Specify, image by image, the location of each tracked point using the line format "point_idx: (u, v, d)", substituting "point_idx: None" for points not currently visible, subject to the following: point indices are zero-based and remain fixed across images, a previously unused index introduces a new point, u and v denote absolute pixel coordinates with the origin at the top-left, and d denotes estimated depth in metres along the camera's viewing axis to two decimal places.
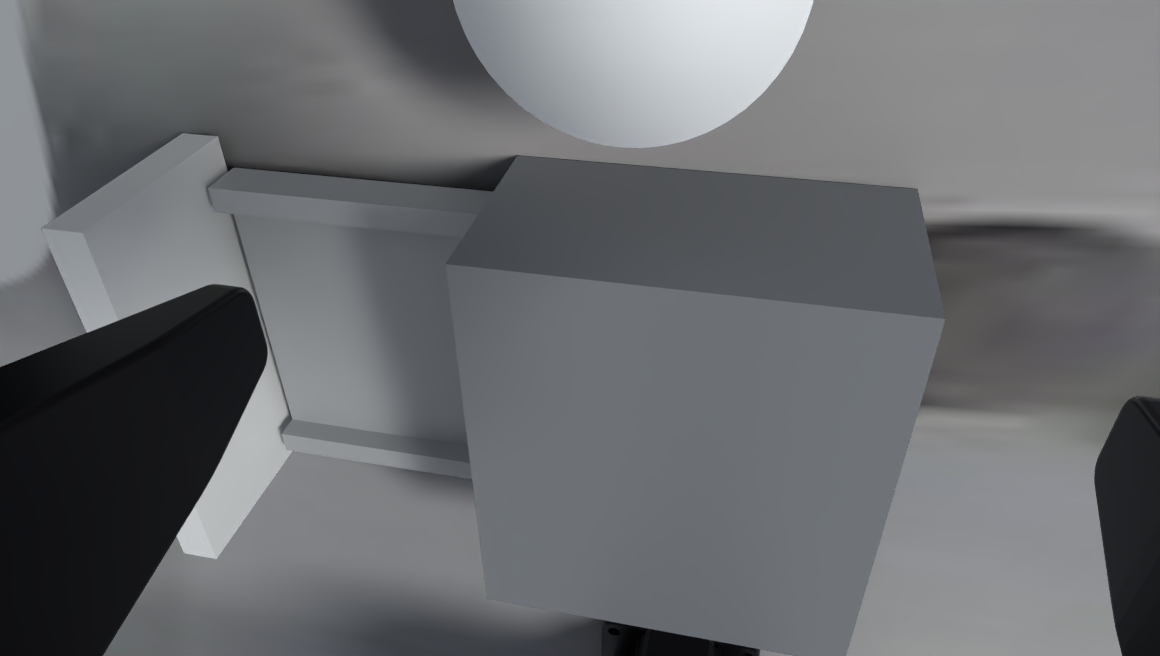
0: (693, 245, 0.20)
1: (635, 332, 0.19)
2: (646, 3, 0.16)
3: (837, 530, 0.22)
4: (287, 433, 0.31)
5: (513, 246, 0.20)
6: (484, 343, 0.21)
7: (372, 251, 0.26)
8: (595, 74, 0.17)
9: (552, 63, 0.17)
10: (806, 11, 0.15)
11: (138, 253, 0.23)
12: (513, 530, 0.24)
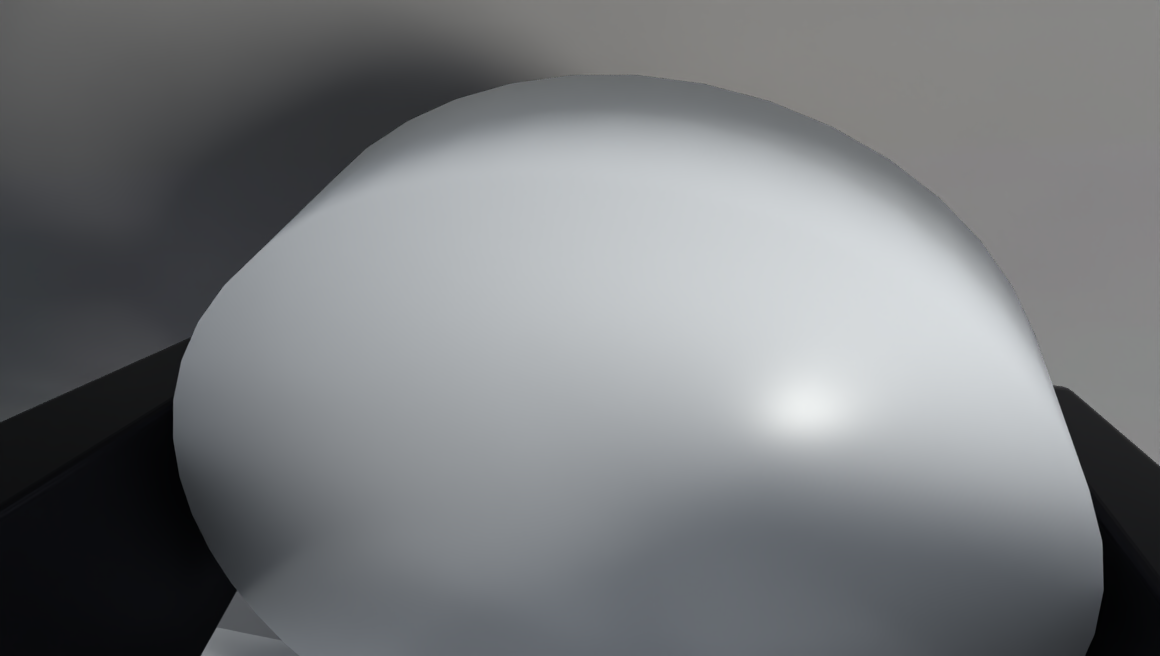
0: None
1: None
2: (644, 635, 0.07)
3: None
4: None
5: None
6: None
7: None
8: None
9: None
10: None
11: None
12: None
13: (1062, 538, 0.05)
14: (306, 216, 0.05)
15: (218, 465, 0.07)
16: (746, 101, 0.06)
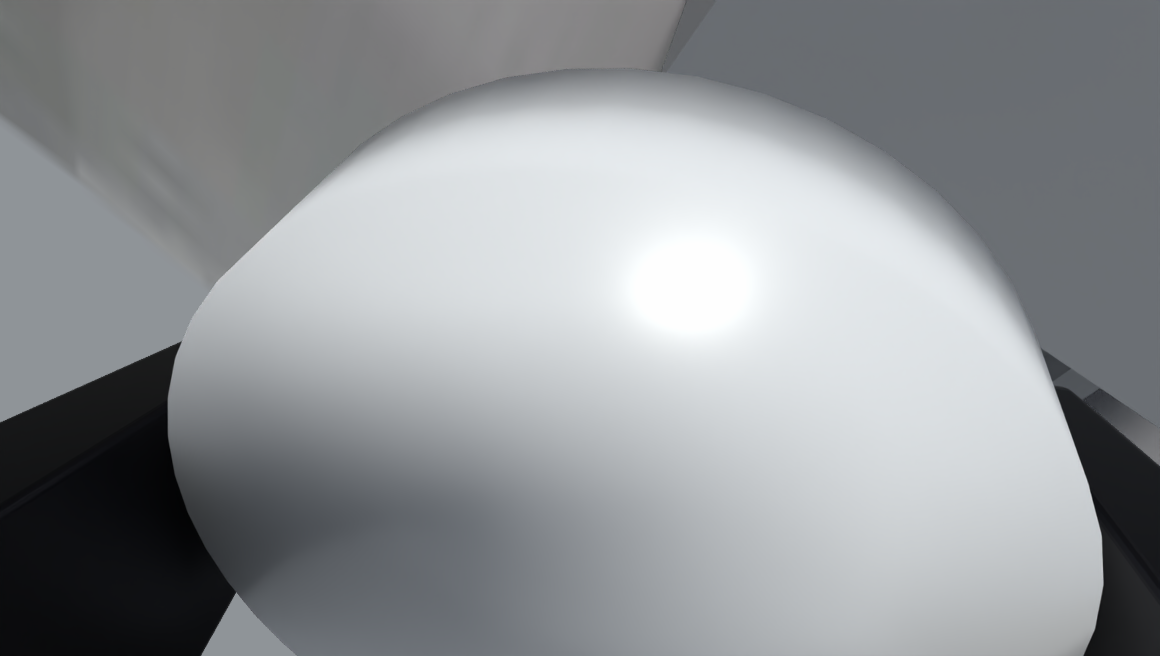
0: None
1: None
2: (642, 633, 0.07)
3: None
4: None
5: None
6: None
7: None
8: None
9: None
10: None
11: None
12: None
13: (1061, 532, 0.05)
14: (299, 211, 0.05)
15: (213, 463, 0.07)
16: (741, 94, 0.06)
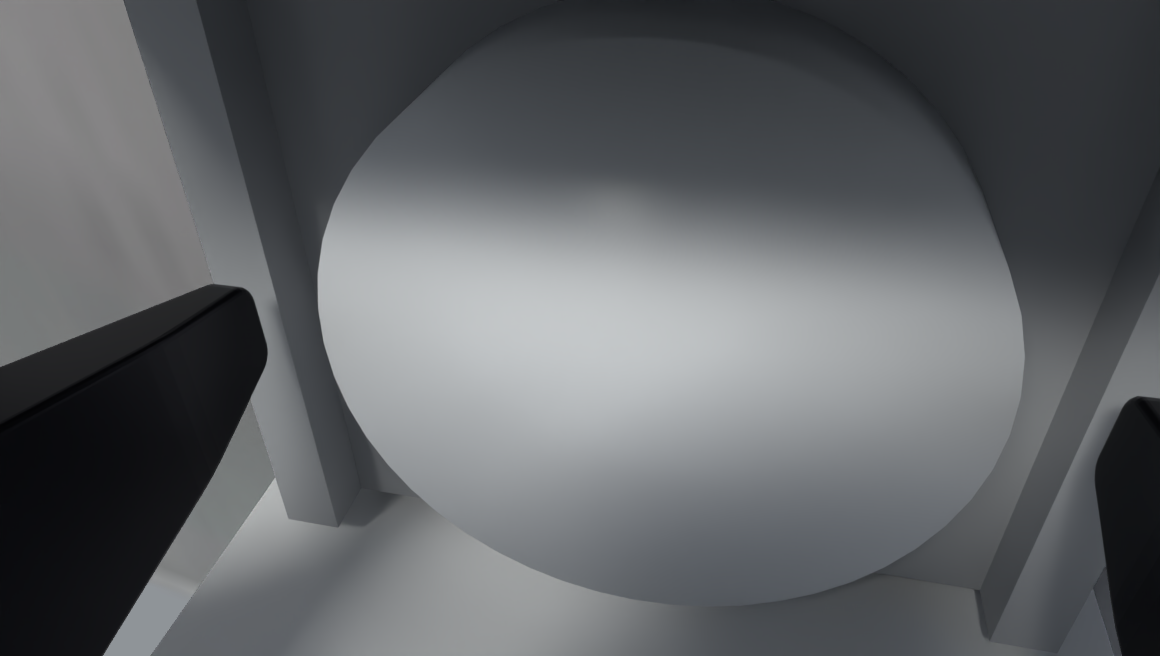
0: None
1: None
2: (680, 430, 0.09)
3: None
4: (992, 628, 0.11)
5: None
6: None
7: None
8: (590, 509, 0.10)
9: (515, 487, 0.10)
10: (981, 476, 0.08)
11: None
12: None
13: (993, 314, 0.07)
14: (440, 82, 0.07)
15: (351, 296, 0.09)
16: (762, 0, 0.08)
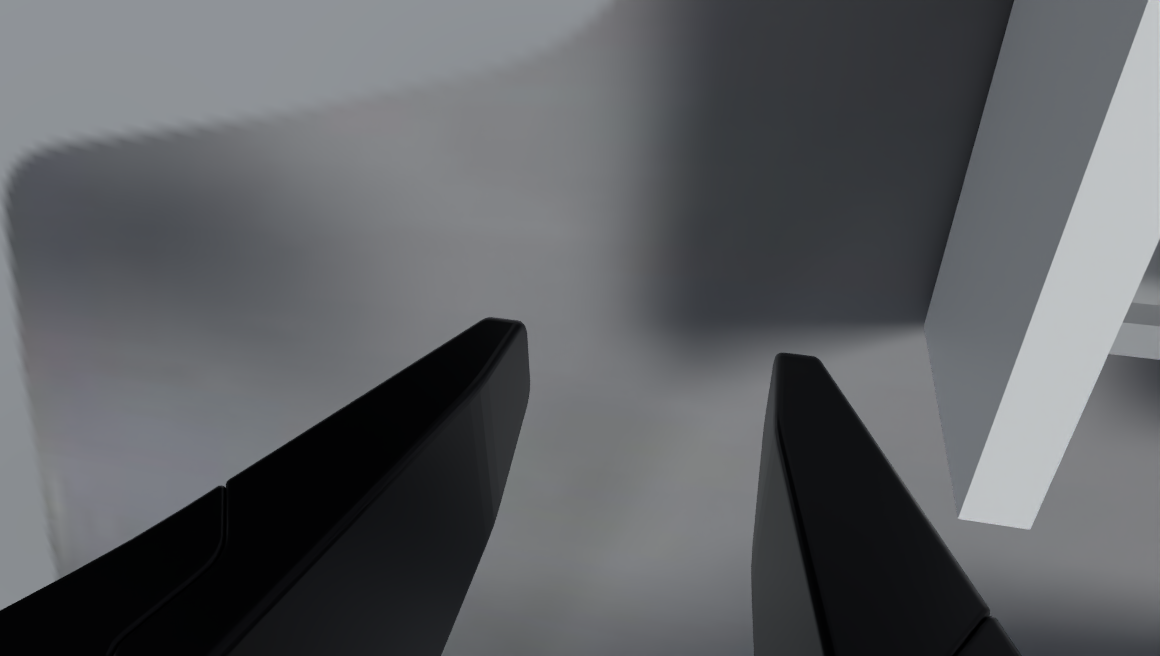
0: None
1: None
2: None
3: None
4: None
5: None
6: None
7: None
8: None
9: None
10: None
11: None
12: None
13: None
14: None
15: None
16: None
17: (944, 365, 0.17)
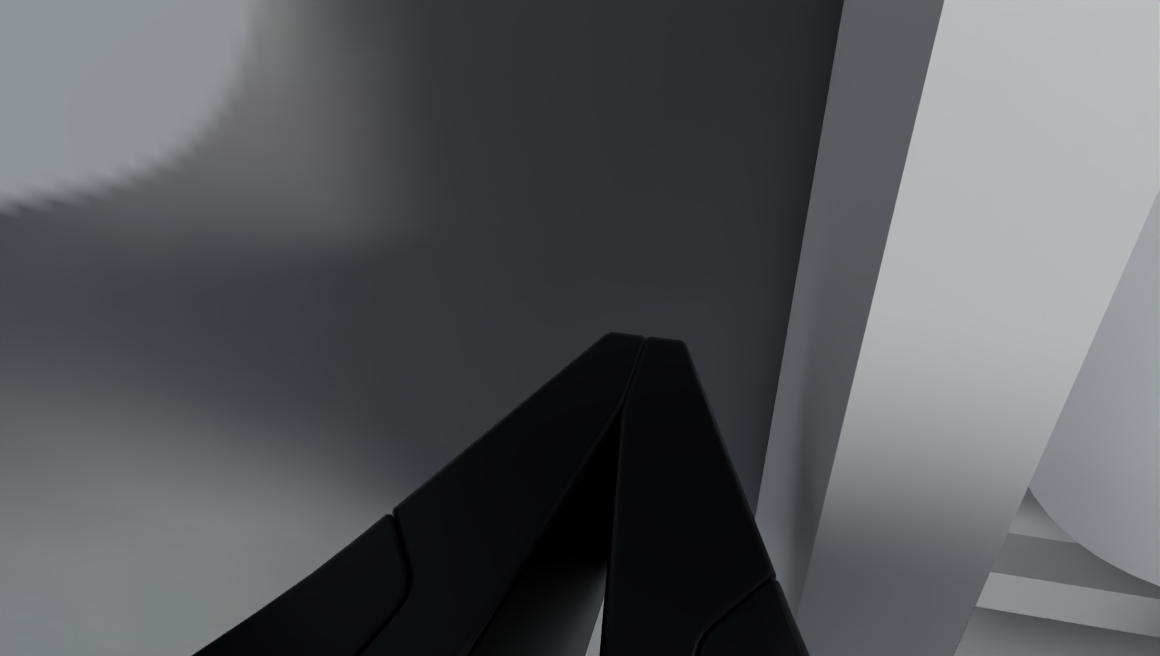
0: None
1: None
2: None
3: None
4: None
5: None
6: None
7: None
8: None
9: None
10: None
11: None
12: None
13: None
14: None
15: None
16: None
17: None
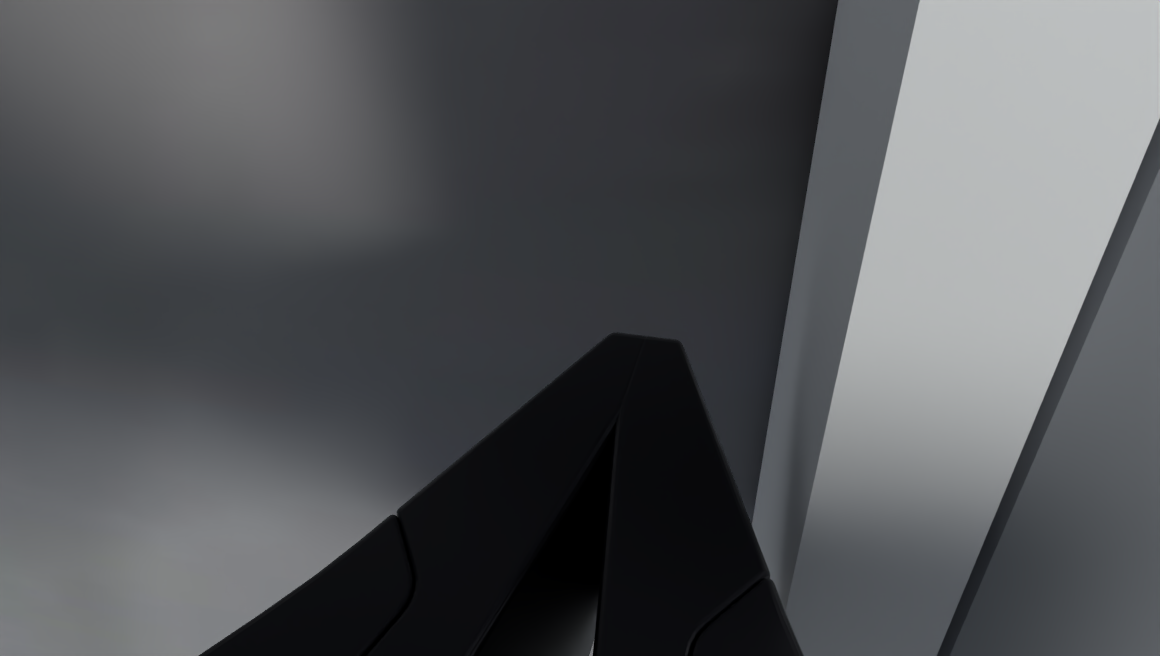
0: None
1: None
2: None
3: None
4: None
5: None
6: None
7: None
8: None
9: None
10: None
11: None
12: None
13: None
14: None
15: None
16: None
17: None
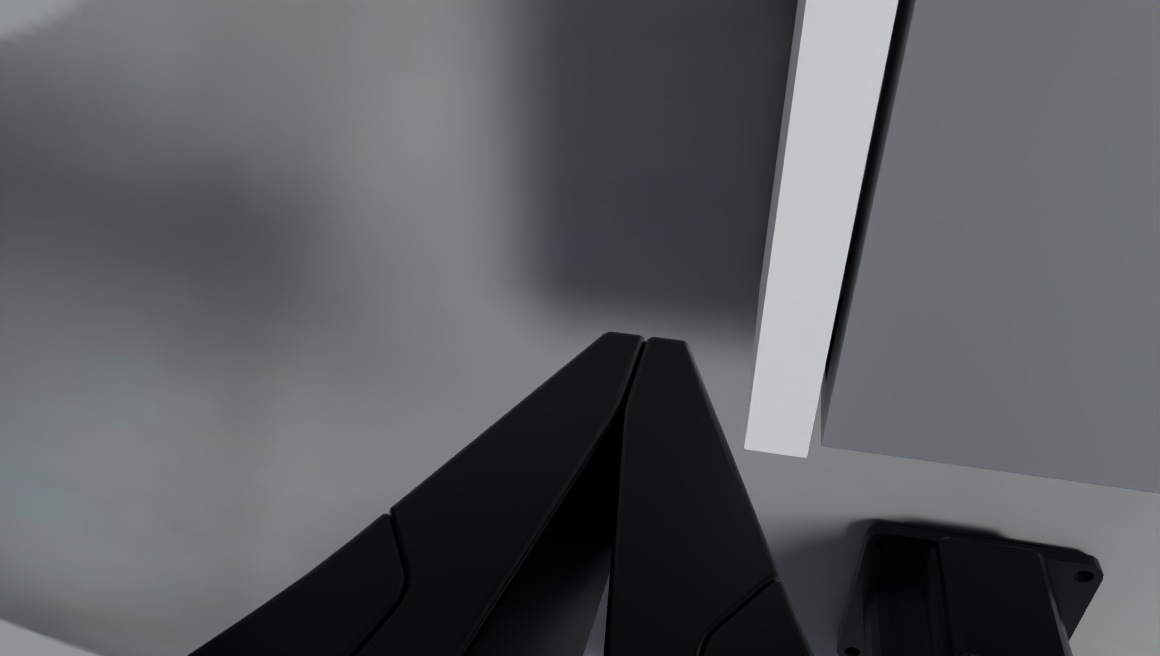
0: None
1: None
2: None
3: None
4: (846, 267, 0.19)
5: None
6: None
7: None
8: None
9: None
10: None
11: None
12: (919, 305, 0.14)
13: None
14: None
15: None
16: None
17: None
